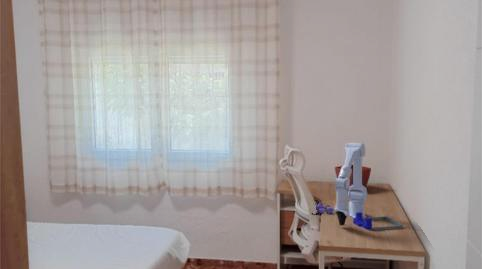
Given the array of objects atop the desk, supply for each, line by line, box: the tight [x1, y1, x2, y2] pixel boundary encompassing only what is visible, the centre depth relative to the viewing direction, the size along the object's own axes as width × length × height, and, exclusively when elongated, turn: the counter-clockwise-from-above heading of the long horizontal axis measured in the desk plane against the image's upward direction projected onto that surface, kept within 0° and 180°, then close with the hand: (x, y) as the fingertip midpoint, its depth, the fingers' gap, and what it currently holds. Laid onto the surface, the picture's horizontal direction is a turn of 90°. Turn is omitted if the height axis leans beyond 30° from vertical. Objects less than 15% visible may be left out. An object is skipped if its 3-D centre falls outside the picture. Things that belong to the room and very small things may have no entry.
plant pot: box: [334, 164, 372, 192], centre depth 302 cm, size 19×19×17 cm
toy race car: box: [313, 200, 336, 215], centre depth 247 cm, size 10×15×6 cm, turn 84°
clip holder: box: [363, 215, 404, 231], centre depth 222 cm, size 17×16×2 cm
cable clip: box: [352, 212, 373, 230], centre depth 220 cm, size 12×4×6 cm, turn 12°
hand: (341, 224), depth 218 cm, fingers closed
